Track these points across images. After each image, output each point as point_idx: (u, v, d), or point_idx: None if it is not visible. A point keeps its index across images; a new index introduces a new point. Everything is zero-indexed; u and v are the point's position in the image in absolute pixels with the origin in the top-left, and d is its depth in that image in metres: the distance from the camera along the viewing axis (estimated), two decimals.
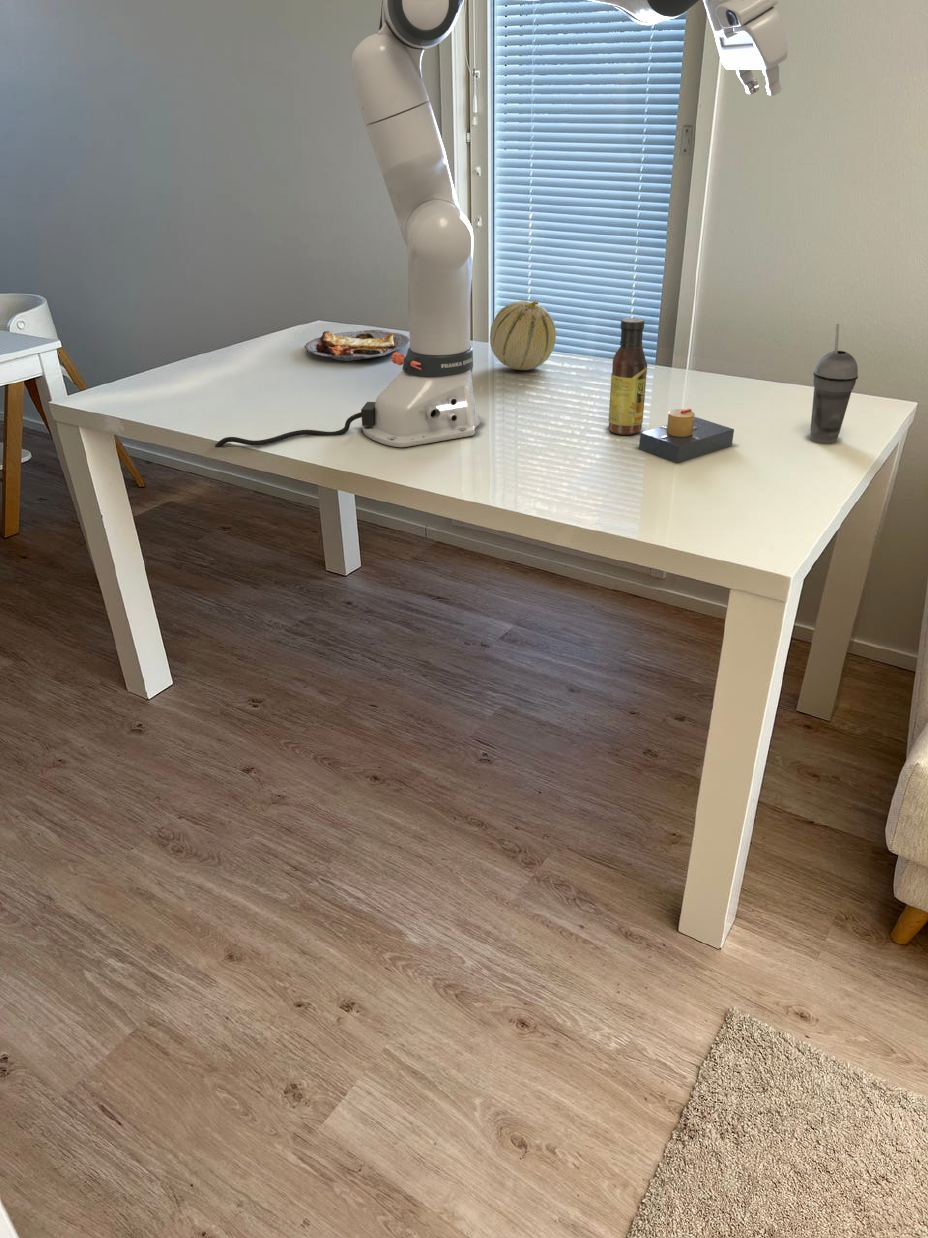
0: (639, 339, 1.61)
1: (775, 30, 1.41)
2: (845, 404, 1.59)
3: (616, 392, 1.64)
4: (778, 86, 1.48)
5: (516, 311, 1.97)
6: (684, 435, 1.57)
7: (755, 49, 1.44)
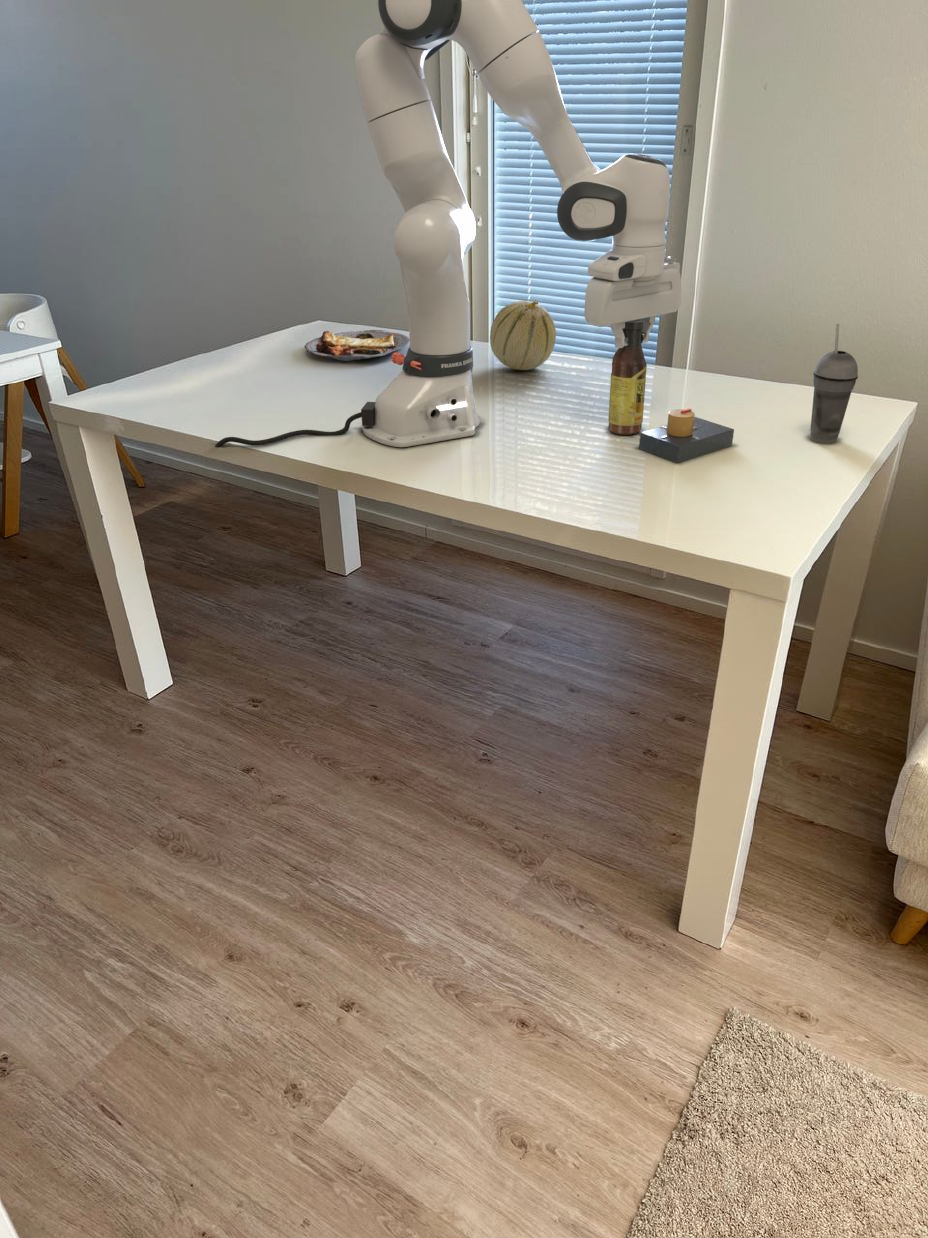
0: (638, 339, 1.60)
1: (597, 299, 1.52)
2: (845, 404, 1.59)
3: (616, 392, 1.64)
4: (620, 343, 1.60)
5: (516, 311, 1.97)
6: (684, 435, 1.57)
7: None
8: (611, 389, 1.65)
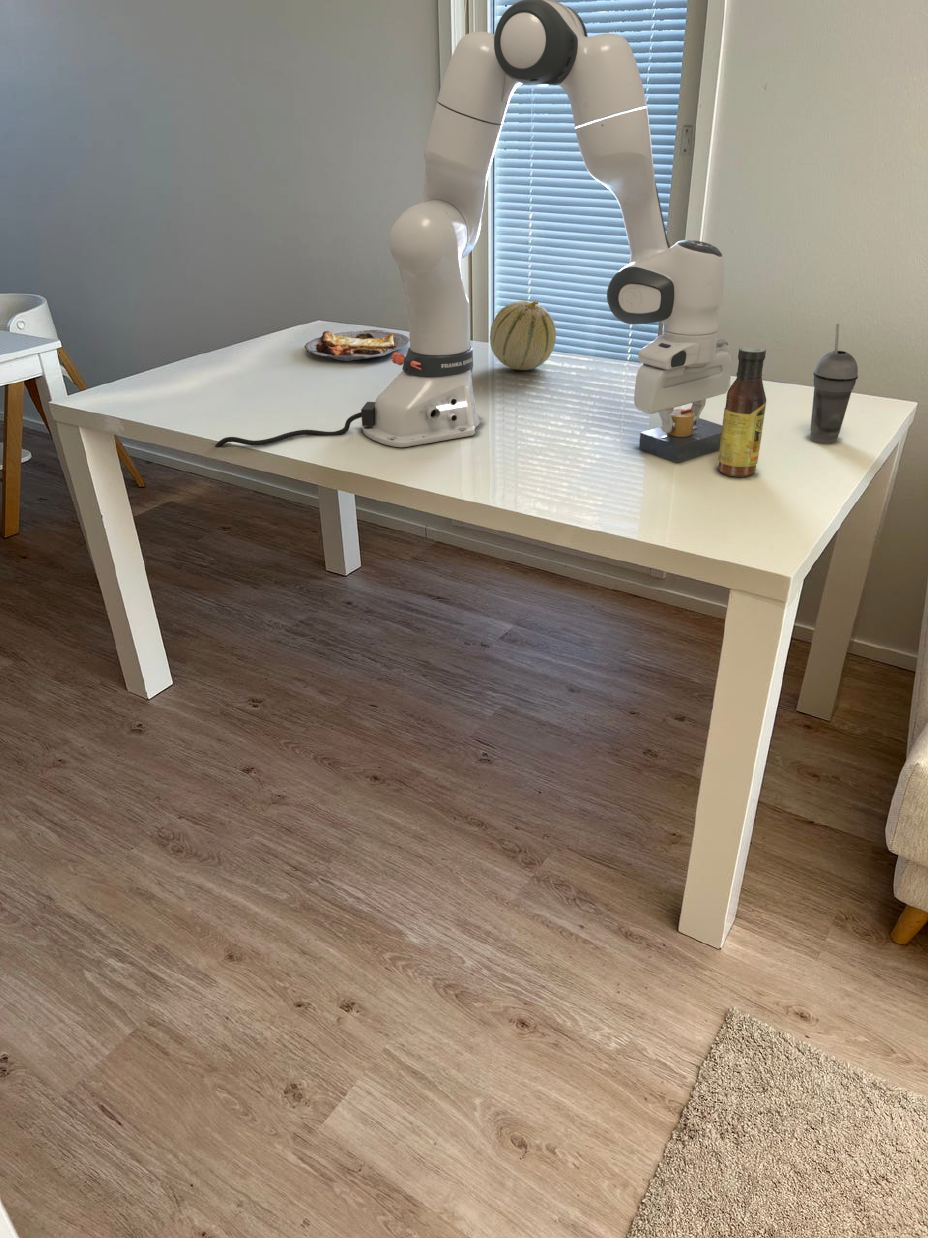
0: (759, 371, 1.42)
1: (648, 387, 1.49)
2: (845, 404, 1.59)
3: (731, 430, 1.46)
4: (668, 428, 1.56)
5: (516, 311, 1.97)
6: (684, 435, 1.57)
7: None
8: (725, 426, 1.47)
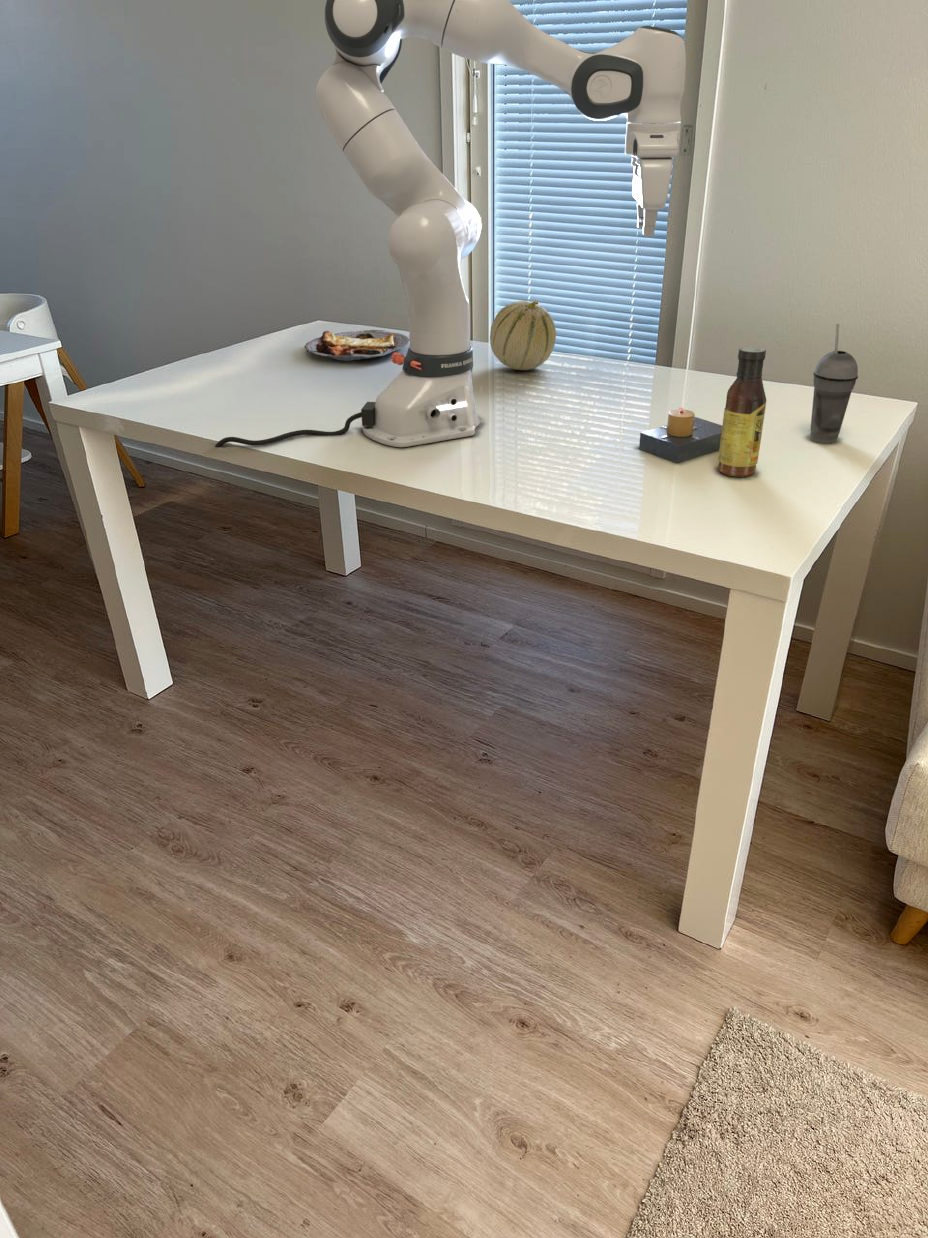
0: (759, 371, 1.42)
1: (662, 179, 1.46)
2: (845, 404, 1.59)
3: (731, 429, 1.46)
4: (652, 231, 1.54)
5: (516, 311, 1.97)
6: (691, 433, 1.58)
7: None
8: (725, 426, 1.47)
